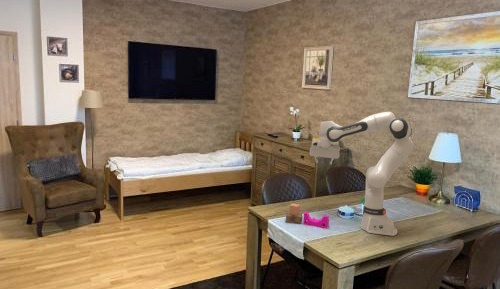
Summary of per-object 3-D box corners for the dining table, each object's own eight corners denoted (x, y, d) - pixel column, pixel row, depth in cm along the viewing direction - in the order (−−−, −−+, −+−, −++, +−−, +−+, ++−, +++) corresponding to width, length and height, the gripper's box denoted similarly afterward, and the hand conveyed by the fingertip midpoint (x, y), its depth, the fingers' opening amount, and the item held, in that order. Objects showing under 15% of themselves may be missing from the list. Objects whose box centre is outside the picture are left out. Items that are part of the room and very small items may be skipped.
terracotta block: (299, 213, 247) (299, 204, 247) (296, 215, 243) (296, 206, 242) (292, 212, 250) (292, 203, 249) (289, 214, 245) (289, 205, 245)
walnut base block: (302, 219, 252) (302, 212, 251) (301, 224, 242) (302, 217, 241) (286, 218, 253) (287, 210, 252) (285, 223, 243) (286, 215, 243)
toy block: (328, 225, 241) (329, 214, 240) (326, 228, 236) (327, 217, 235) (305, 221, 247) (306, 210, 246) (303, 224, 242) (303, 213, 241)
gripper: (341, 144, 258) (339, 164, 260) (311, 141, 266) (310, 161, 268) (339, 145, 252) (337, 166, 254) (309, 142, 261) (308, 162, 262)
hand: (323, 163), depth 261 cm, fingers open, 8 cm apart
